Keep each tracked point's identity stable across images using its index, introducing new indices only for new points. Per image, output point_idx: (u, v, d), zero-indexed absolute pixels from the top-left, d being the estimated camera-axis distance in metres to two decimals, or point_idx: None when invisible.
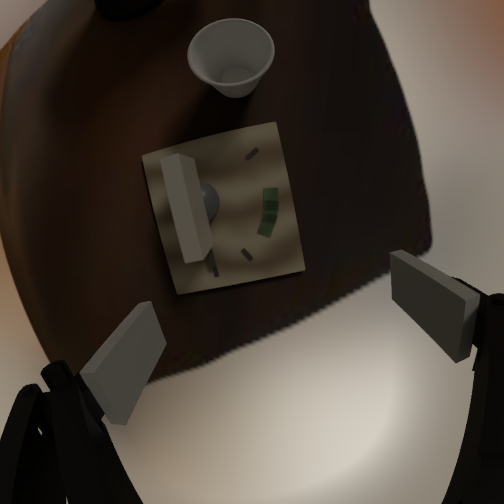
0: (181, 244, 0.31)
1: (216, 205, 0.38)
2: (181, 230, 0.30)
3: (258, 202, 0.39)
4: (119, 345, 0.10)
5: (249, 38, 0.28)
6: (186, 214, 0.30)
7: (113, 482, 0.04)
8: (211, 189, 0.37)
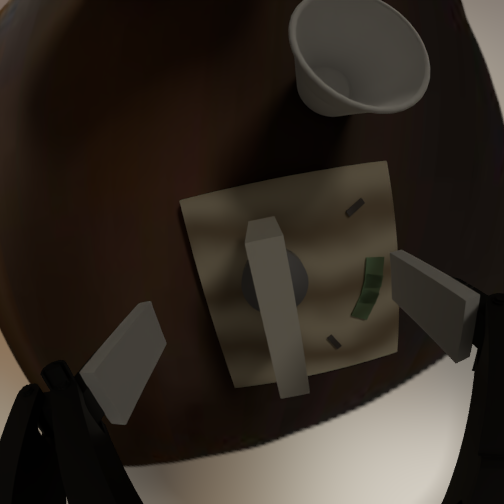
0: (278, 377, 0.18)
1: (306, 288, 0.25)
2: (280, 360, 0.18)
3: (357, 276, 0.27)
4: (119, 345, 0.10)
5: (371, 29, 0.15)
6: (292, 338, 0.17)
7: (113, 482, 0.04)
8: (299, 265, 0.24)
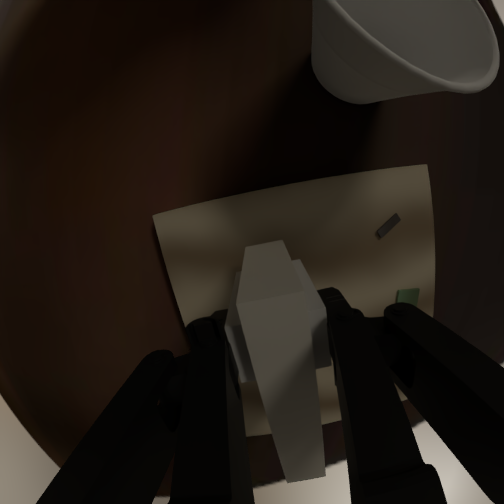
0: (285, 466, 0.11)
1: None
2: (289, 450, 0.11)
3: None
4: None
5: None
6: (308, 428, 0.10)
7: (234, 462, 0.05)
8: None
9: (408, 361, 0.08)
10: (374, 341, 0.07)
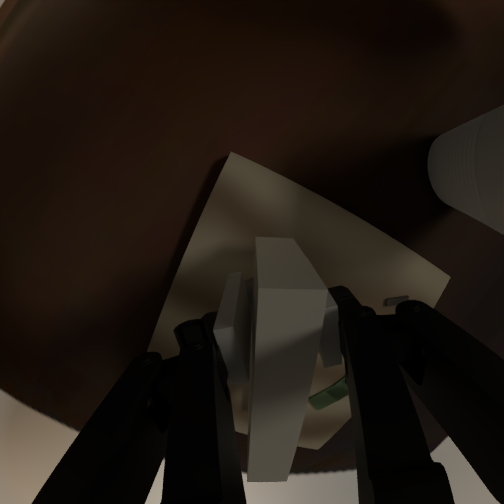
0: (252, 464, 0.11)
1: None
2: (261, 448, 0.11)
3: (344, 367, 0.21)
4: (238, 305, 0.12)
5: None
6: (287, 429, 0.10)
7: (224, 463, 0.05)
8: None
9: (418, 358, 0.08)
10: (385, 339, 0.07)
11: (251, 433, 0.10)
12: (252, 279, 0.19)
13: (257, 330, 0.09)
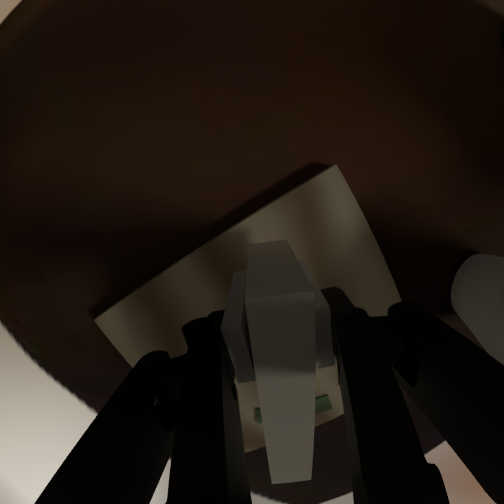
0: (272, 466, 0.11)
1: None
2: (279, 451, 0.11)
3: None
4: (244, 303, 0.12)
5: None
6: (301, 430, 0.10)
7: (231, 462, 0.05)
8: None
9: (412, 360, 0.08)
10: (378, 340, 0.07)
11: (265, 437, 0.10)
12: None
13: (251, 339, 0.09)
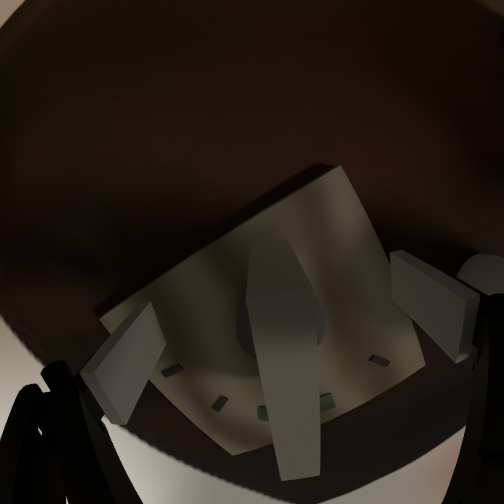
0: (281, 463, 0.11)
1: (321, 335, 0.18)
2: (286, 447, 0.11)
3: None
4: (119, 345, 0.10)
5: None
6: (307, 426, 0.11)
7: (113, 482, 0.04)
8: (316, 307, 0.18)
9: None
10: None
11: (272, 434, 0.11)
12: None
13: (253, 338, 0.09)
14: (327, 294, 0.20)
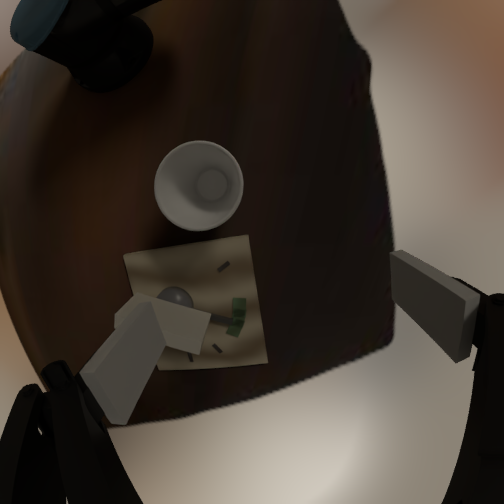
0: (182, 349, 0.34)
1: (180, 295, 0.41)
2: (172, 343, 0.34)
3: (228, 309, 0.43)
4: (119, 345, 0.10)
5: (222, 156, 0.32)
6: None
7: (113, 482, 0.04)
8: (166, 292, 0.41)
9: None
10: None
11: None
12: None
13: None
14: (172, 281, 0.42)
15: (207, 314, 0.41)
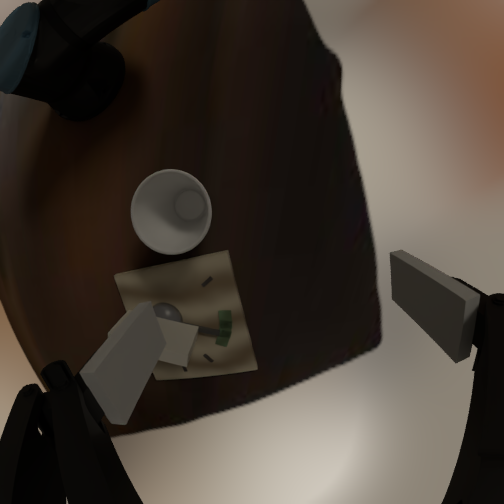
0: (171, 362, 0.36)
1: (168, 311, 0.42)
2: (161, 357, 0.35)
3: (215, 321, 0.45)
4: (119, 345, 0.10)
5: (192, 180, 0.33)
6: None
7: (113, 482, 0.04)
8: (155, 309, 0.42)
9: None
10: None
11: None
12: None
13: None
14: (160, 297, 0.44)
15: (194, 327, 0.42)
